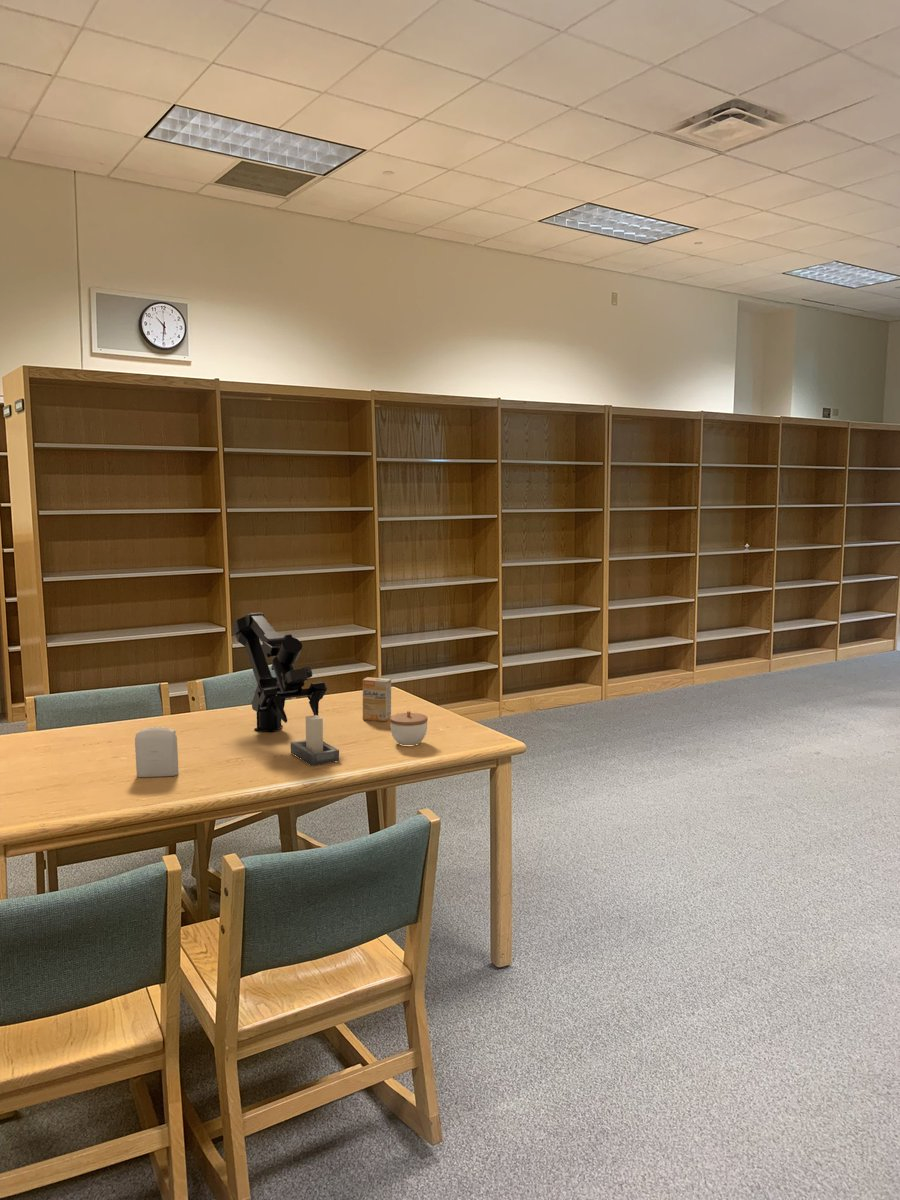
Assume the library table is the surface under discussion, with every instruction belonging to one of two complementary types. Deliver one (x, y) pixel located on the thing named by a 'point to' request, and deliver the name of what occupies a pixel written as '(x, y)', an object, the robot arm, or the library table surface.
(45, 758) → the library table surface
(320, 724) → the pale grey rectangular block
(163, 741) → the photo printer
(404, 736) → the lidded jar
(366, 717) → the supplement box
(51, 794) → the library table surface
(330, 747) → the grey rectangular tray
